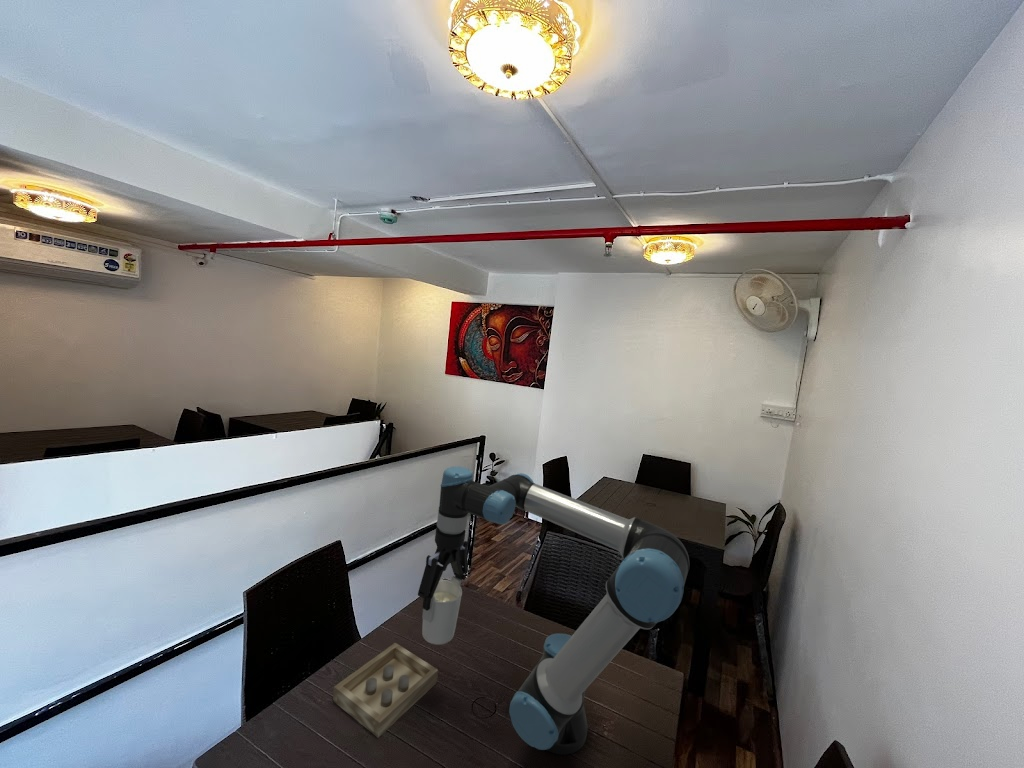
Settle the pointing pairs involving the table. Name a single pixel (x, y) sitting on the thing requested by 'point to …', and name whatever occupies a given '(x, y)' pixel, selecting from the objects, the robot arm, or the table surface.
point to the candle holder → (443, 613)
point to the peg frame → (385, 688)
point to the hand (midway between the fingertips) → (440, 610)
